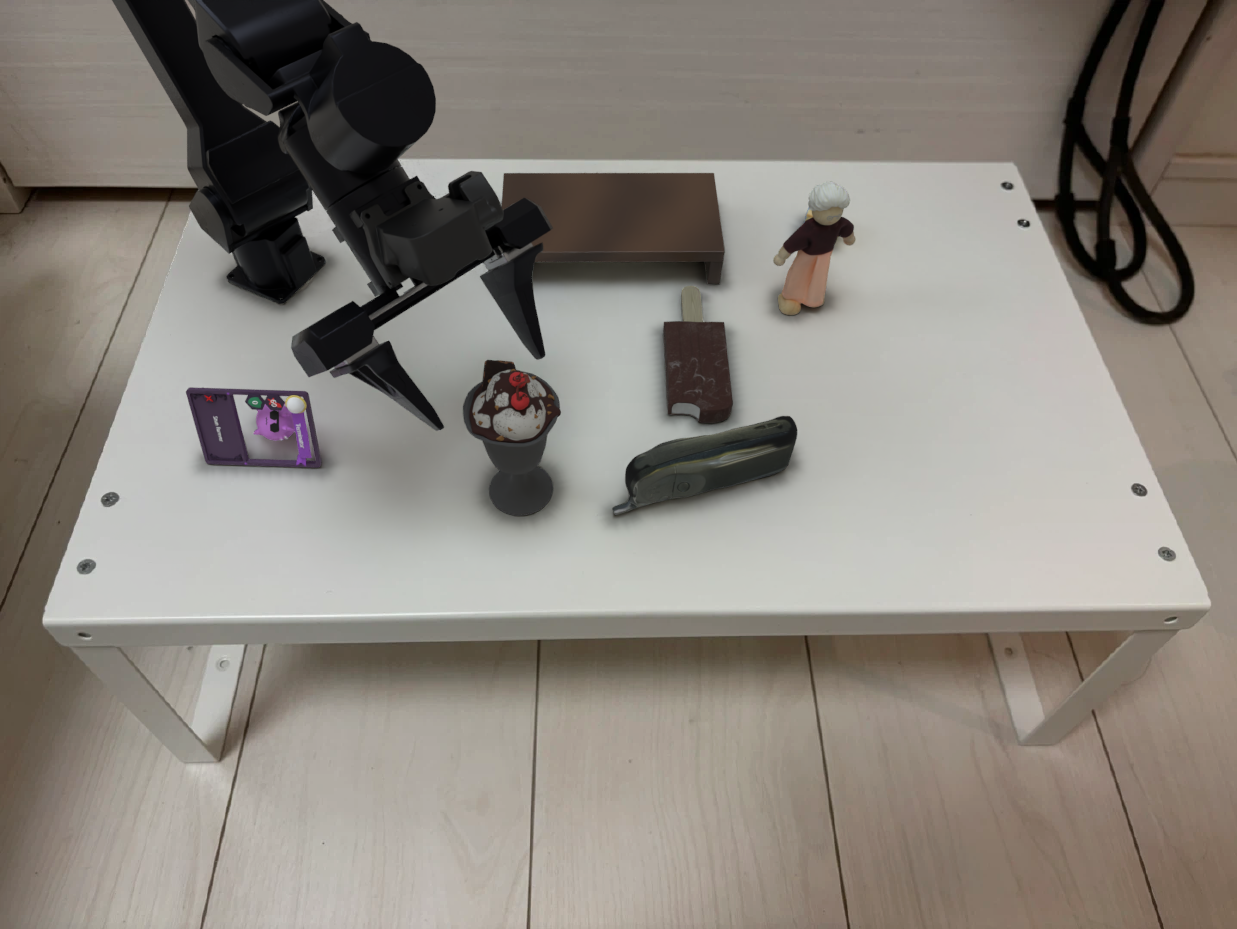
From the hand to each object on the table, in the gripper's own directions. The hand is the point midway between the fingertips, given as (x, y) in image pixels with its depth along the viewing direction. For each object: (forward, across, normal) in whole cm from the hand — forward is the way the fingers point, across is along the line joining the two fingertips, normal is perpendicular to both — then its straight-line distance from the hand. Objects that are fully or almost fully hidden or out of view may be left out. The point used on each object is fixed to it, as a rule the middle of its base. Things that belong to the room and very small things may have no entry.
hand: (492, 392), depth 65 cm
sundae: (+9, 0, +6) cm, 10 cm away
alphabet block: (+7, +40, +7) cm, 41 cm away
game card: (-4, -11, +18) cm, 21 cm away
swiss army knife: (+15, +10, -1) cm, 18 cm away
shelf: (-2, +25, +16) cm, 30 cm away
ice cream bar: (+9, +20, +6) cm, 22 cm away
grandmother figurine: (+10, +32, +4) cm, 34 cm away
